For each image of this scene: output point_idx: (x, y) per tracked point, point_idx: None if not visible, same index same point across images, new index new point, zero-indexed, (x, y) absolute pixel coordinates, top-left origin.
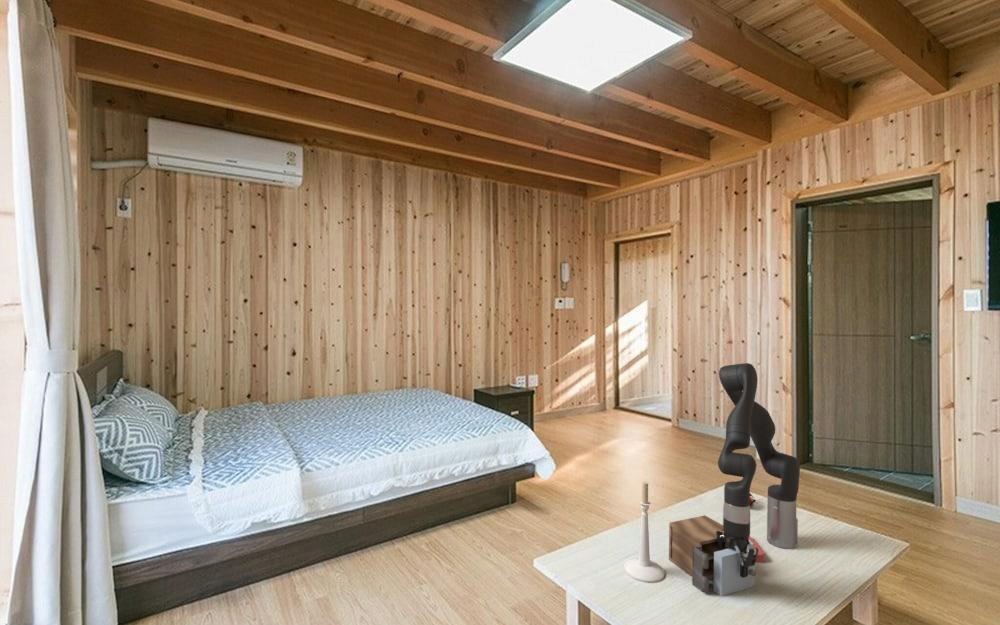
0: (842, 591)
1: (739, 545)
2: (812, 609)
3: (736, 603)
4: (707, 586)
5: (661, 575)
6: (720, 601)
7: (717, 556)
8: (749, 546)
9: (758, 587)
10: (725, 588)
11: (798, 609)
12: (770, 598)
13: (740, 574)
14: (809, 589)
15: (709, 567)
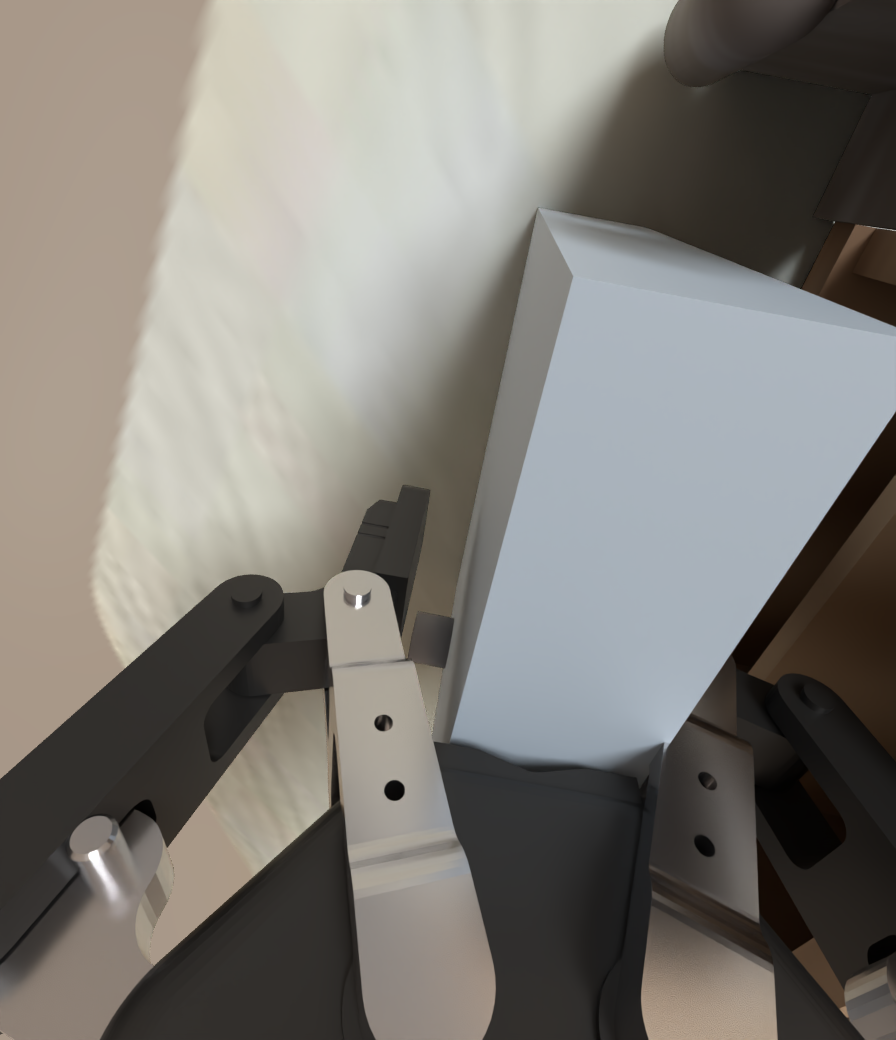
0: (228, 806)
1: (344, 945)
2: (149, 618)
3: (379, 233)
4: (685, 12)
5: None
6: (487, 83)
7: (745, 298)
8: (11, 1036)
9: (431, 590)
10: (523, 283)
11: (167, 564)
12: (311, 539)
13: (420, 498)
14: (289, 746)
15: (830, 528)
